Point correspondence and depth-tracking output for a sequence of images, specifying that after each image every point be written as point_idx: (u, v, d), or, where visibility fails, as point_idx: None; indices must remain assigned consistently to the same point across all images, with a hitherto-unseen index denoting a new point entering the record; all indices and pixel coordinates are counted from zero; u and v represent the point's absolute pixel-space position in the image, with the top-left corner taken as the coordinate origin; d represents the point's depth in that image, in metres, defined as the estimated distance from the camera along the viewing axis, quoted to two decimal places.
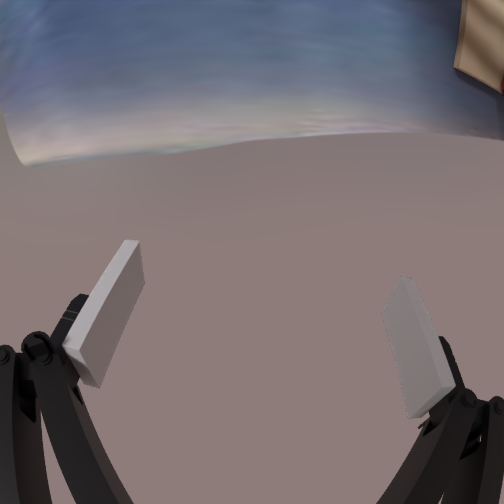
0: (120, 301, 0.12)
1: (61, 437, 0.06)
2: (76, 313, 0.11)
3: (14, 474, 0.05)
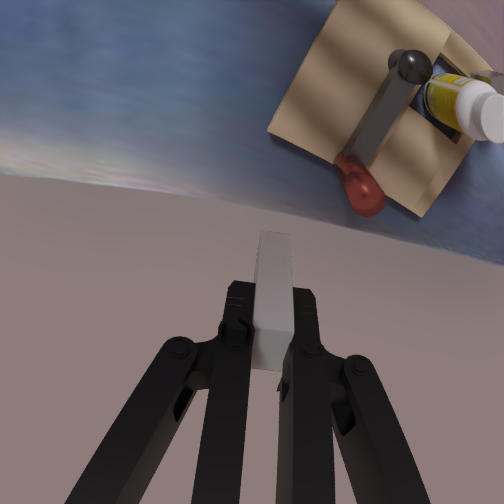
0: None
1: (218, 423, 0.08)
2: (240, 298, 0.13)
3: (130, 471, 0.06)
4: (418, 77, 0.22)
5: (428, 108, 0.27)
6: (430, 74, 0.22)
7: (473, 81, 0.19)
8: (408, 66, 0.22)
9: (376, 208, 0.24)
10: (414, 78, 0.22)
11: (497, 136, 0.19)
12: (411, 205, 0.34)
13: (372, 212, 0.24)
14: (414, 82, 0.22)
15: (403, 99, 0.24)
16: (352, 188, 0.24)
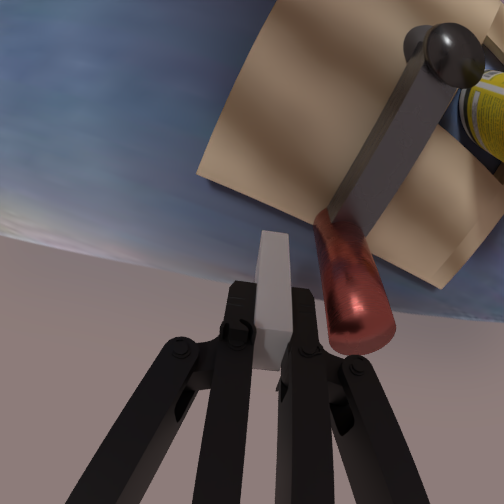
0: None
1: (219, 424, 0.08)
2: (241, 299, 0.13)
3: (131, 471, 0.06)
4: (461, 75, 0.10)
5: (467, 127, 0.15)
6: (481, 69, 0.10)
7: None
8: (445, 54, 0.10)
9: (377, 344, 0.13)
10: (455, 76, 0.11)
11: None
12: (428, 275, 0.22)
13: (369, 349, 0.13)
14: (455, 84, 0.11)
15: (435, 116, 0.13)
16: (332, 312, 0.13)
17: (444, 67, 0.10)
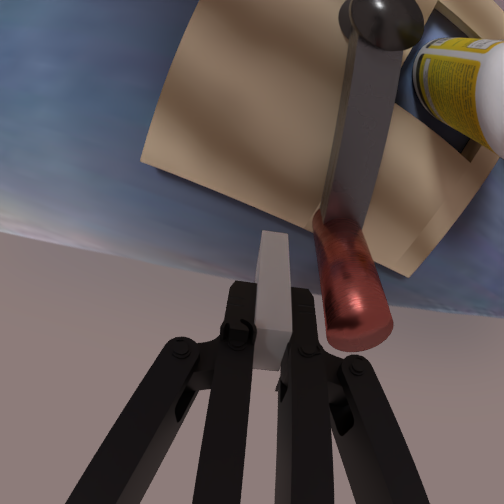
0: None
1: (219, 424, 0.08)
2: (241, 299, 0.13)
3: (131, 471, 0.06)
4: (400, 35, 0.10)
5: (422, 100, 0.15)
6: (419, 21, 0.09)
7: None
8: (373, 21, 0.10)
9: (379, 336, 0.12)
10: (394, 40, 0.10)
11: None
12: (391, 261, 0.22)
13: (373, 342, 0.13)
14: (397, 47, 0.10)
15: (390, 87, 0.12)
16: (325, 315, 0.13)
17: (378, 35, 0.10)
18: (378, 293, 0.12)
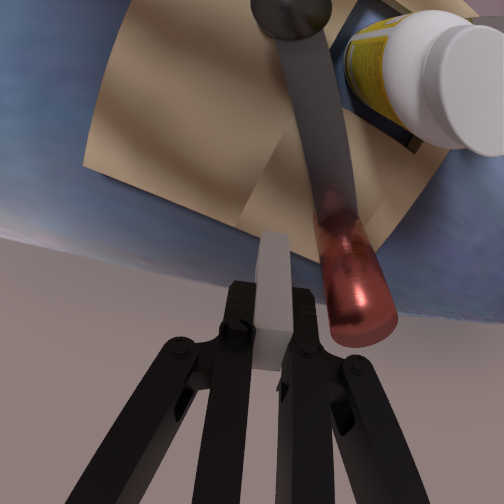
0: None
1: (219, 424, 0.08)
2: (241, 299, 0.13)
3: (131, 471, 0.06)
4: (310, 17, 0.10)
5: (353, 90, 0.15)
6: None
7: (424, 11, 0.07)
8: (278, 16, 0.10)
9: (387, 325, 0.12)
10: (306, 25, 0.10)
11: (490, 139, 0.07)
12: None
13: (385, 332, 0.12)
14: (312, 31, 0.11)
15: (327, 72, 0.12)
16: None
17: (288, 28, 0.11)
18: (372, 284, 0.12)
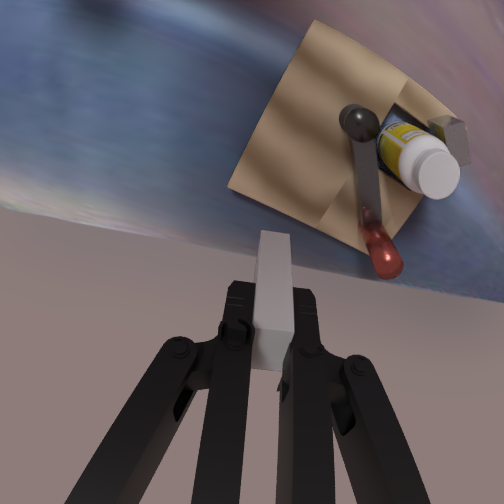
0: None
1: (218, 423, 0.08)
2: (240, 298, 0.13)
3: (130, 471, 0.06)
4: (369, 132, 0.27)
5: (381, 158, 0.32)
6: (376, 121, 0.26)
7: (418, 137, 0.24)
8: (356, 131, 0.27)
9: (399, 268, 0.29)
10: (368, 136, 0.27)
11: (437, 193, 0.24)
12: (365, 248, 0.39)
13: (398, 272, 0.29)
14: (370, 139, 0.28)
15: (373, 156, 0.29)
16: (374, 265, 0.30)
17: (360, 137, 0.28)
18: (392, 250, 0.29)
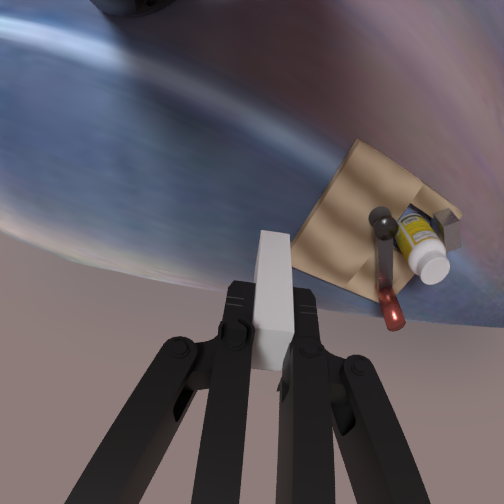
0: None
1: (218, 423, 0.08)
2: (240, 298, 0.13)
3: (130, 471, 0.06)
4: (390, 234, 0.40)
5: None
6: (396, 226, 0.39)
7: (424, 241, 0.37)
8: (382, 233, 0.40)
9: (402, 324, 0.41)
10: (389, 236, 0.40)
11: (432, 281, 0.37)
12: None
13: (401, 326, 0.42)
14: (390, 238, 0.40)
15: (391, 246, 0.42)
16: None
17: (384, 237, 0.40)
18: (398, 313, 0.41)
